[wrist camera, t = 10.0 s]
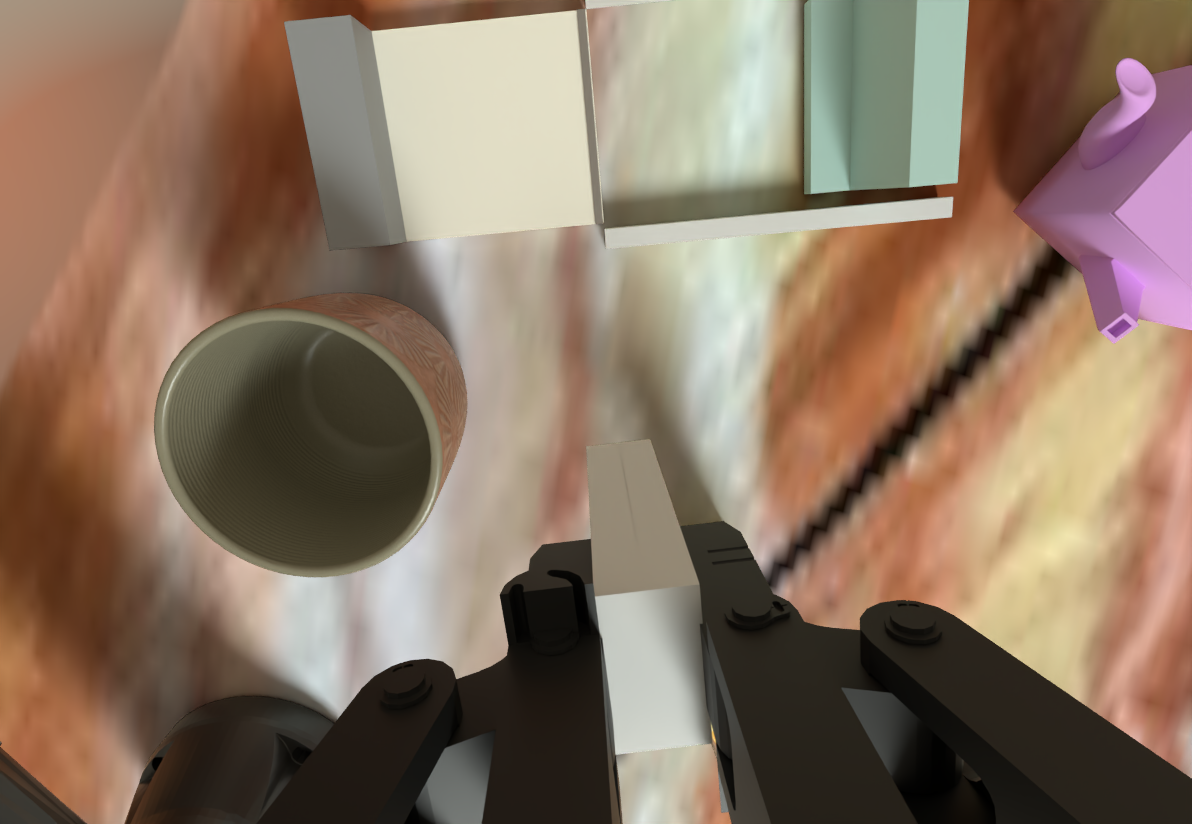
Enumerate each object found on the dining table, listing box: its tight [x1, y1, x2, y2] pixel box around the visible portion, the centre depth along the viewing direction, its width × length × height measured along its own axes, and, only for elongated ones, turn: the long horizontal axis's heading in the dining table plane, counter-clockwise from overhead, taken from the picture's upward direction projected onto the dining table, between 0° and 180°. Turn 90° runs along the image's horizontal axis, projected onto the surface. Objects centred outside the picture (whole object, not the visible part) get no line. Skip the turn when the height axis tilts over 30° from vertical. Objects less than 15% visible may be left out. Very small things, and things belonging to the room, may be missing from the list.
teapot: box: [1013, 58, 1192, 343], centre depth 32 cm, size 18×13×10 cm
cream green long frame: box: [284, 0, 953, 251], centre depth 33 cm, size 32×13×4 cm, turn 95°
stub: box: [804, 0, 969, 194], centre depth 31 cm, size 6×9×8 cm, turn 5°
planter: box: [154, 293, 467, 577], centre depth 34 cm, size 12×12×11 cm
